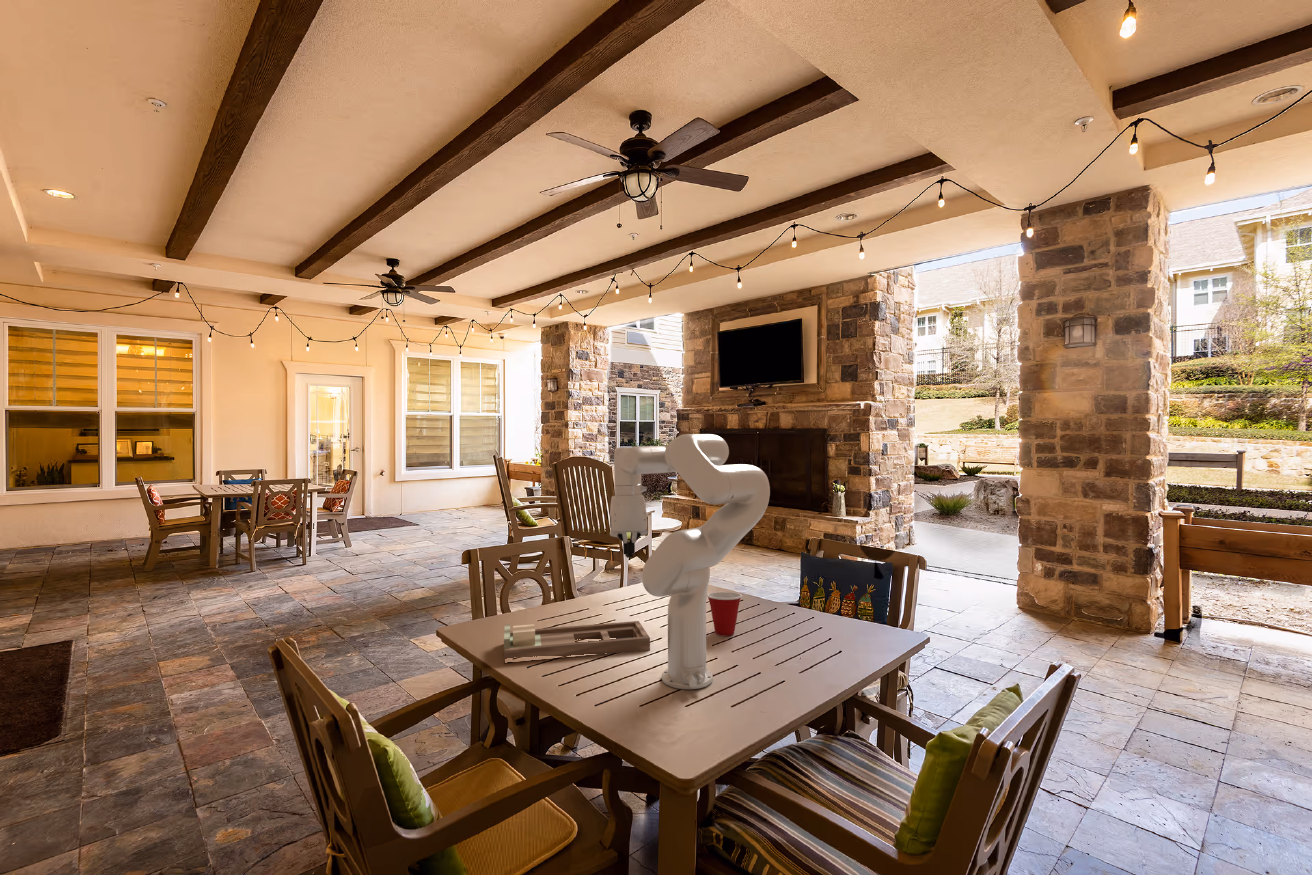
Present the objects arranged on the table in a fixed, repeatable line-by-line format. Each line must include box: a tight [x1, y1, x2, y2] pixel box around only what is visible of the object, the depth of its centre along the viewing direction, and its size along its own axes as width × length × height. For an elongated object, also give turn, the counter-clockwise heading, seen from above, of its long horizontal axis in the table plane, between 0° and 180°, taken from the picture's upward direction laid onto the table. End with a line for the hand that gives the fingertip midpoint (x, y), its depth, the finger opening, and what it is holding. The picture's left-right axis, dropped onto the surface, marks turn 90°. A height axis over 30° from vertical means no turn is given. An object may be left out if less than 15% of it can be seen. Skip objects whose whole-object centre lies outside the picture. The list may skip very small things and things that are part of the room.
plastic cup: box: [706, 591, 743, 637], centre depth 182 cm, size 11×11×12 cm
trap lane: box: [503, 620, 651, 660], centre depth 170 cm, size 16×40×6 cm, turn 103°
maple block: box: [512, 623, 536, 647], centre depth 167 cm, size 6×6×4 cm
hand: (629, 556), depth 166 cm, fingers closed
